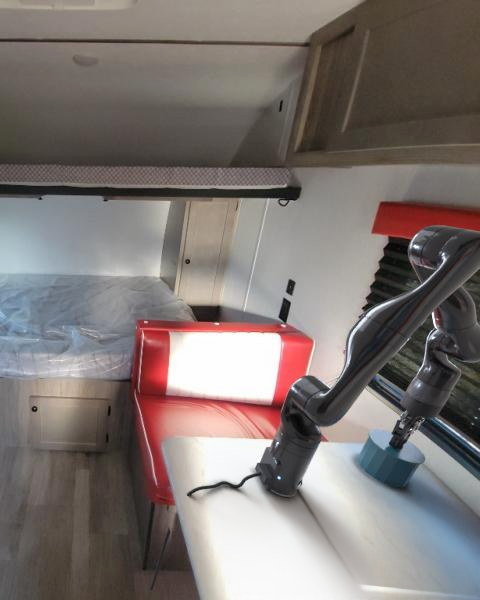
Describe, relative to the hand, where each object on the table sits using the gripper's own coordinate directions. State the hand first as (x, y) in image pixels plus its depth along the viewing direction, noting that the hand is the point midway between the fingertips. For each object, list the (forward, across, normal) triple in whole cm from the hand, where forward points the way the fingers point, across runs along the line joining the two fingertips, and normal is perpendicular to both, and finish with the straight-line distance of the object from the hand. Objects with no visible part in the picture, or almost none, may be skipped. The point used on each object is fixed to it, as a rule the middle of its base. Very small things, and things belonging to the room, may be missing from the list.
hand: (396, 443), depth 97 cm
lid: (+1, 0, 0) cm, 1 cm away
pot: (+11, 0, 0) cm, 11 cm away
